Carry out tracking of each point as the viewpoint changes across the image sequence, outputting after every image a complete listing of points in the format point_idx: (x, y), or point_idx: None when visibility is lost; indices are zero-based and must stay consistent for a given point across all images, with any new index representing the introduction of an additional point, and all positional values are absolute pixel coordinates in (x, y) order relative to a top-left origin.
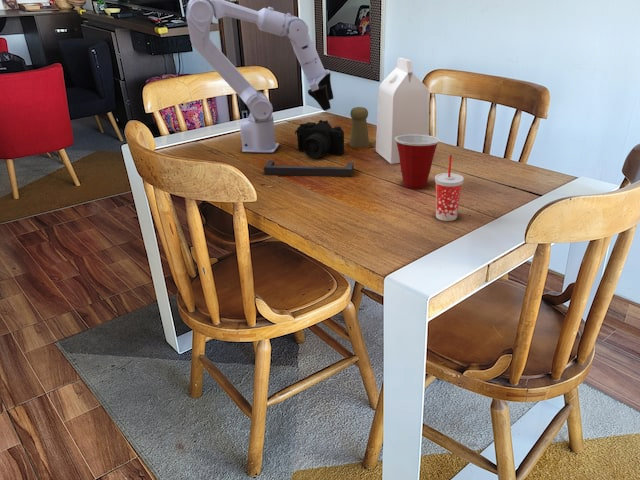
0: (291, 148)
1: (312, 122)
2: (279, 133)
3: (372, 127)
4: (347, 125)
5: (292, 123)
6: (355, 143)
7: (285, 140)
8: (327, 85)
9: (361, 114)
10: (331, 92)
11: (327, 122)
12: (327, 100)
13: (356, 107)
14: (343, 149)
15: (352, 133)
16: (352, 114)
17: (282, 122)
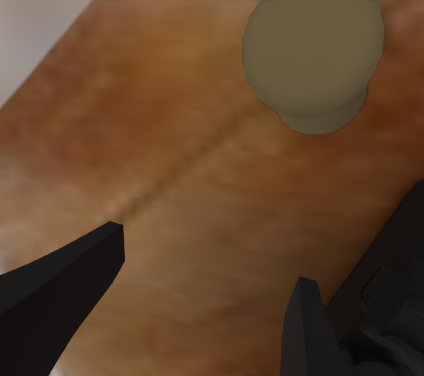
0: None
1: None
2: (123, 358)
3: (93, 16)
4: (63, 113)
5: None
6: (357, 109)
7: (202, 362)
8: (41, 309)
9: (384, 29)
10: (93, 251)
11: (413, 296)
12: (335, 347)
13: (287, 58)
14: None
15: (335, 118)
16: (343, 104)
17: None
